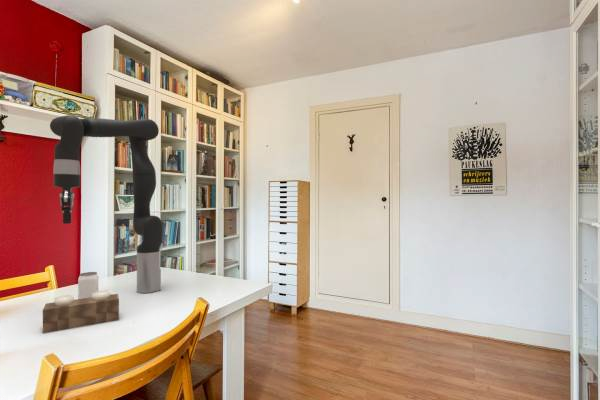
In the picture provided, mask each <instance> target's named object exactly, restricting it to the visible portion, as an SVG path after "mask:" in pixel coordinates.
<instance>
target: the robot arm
mask: <svg viewBox="0 0 600 400" xmlns="http://www.w3.org/2000/svg"><path fill="white" fill-rule="evenodd" d="M49 128H50V131H51V132H52V133H53V134H54V135H55V136H57V137H60V140H59V142H58V143H55V146H54V151H53V152H54V157H53V158H54V160H53V187H54V188H61V190H62V192H59V198H60V206H61V212H62V224H65V225H67V224H68V225H69V224H72V212H73V206H74V198H75V193H74V192H73V190H72V189H74V188H80V187H81V164H80V148H81V145H82V141H83V137H84V138H85V137H87V138H88V137H90V138H116V137H117V138H119V137H128V141H129V145H130V153H131V164H132V165H131V168H132V187H133V218H132V227H133V231H134V232H135V233H136V234H137V235H139V236H142V241H141V243H140V244H138V245H137V246H136V292H137V293H139V294H150V293H154V292H157V291H161V290H162V287H161V286H162V285H161V284H162V281H161V280H162V276H161V275H162V269H161V267H160V266H161V246H162V243H163V222H162V220H161V218H160V217H158V216H157V215H151V200H152V198H153V195H154V194H155V191H156V188H157V176H156V175H157V173H156V169H155V166H154V165H153V163H152V161H151V159H150V157H149V155H148V153H147V141H152V140H154V139H156V138H157V137H158V135H159V131H160V130H159V129H160V128H159V126H158V124H157V123H156V121H154V120H153V119H150V118H140V119H134V120H123V119H121V120H119V119H111V118H110V119H109V118H98V117H97V118H96V117H86V118H80V117H78V116H76V115H72V114H68V115H62V116H58V117H54V118H53V119H52V120H51V121H50V123H49Z"/></svg>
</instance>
